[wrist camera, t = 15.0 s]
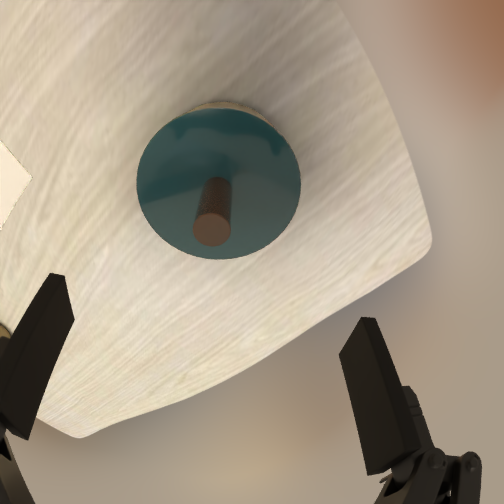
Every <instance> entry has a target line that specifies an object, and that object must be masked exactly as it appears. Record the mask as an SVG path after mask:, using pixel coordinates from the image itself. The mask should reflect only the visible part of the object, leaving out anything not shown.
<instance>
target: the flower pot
mask: <svg viewBox="0 0 504 504" xmlns="http://www.w3.org/2000/svg"><path fill="white" fill-rule="evenodd" d="M1 336H5V337H8V338H10V334H9V333H8V331H7V330H6V329H5V328H4V327H3V326H1V325H0V337H1Z"/></svg>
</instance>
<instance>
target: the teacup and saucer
mask: <svg viewBox="0 0 504 504" xmlns="http://www.w3.org/2000/svg"><path fill="white" fill-rule="evenodd" d="M31 179H32V176H31V175H30V174H29V173H28V172H27V171H26V170H25V168H24V167H23V166H22V165H21V164H20V163H19V162H18V160H17V159H16V158H15V157H14V156H13V155H12V153H11V152H10V151H9V150H8V149H7V147H6V146H5V145H4V144H3V143H2V141H1V140H0V230H1V228H2V226H3V224H4V223H5V221H6V219H7V217H8V216H9V214H10V212H11V211H12V209H13V207H14V205H15V204H16V202H17V201H18V199H19V197H20V196H21V194H22V193H23V191H24V189H25V188H26V186H27V185H28V183H29V182H30V180H31Z"/></svg>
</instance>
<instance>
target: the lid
mask: <svg viewBox="0 0 504 504" xmlns="http://www.w3.org/2000/svg"><path fill="white" fill-rule="evenodd" d="M300 191H301V178H300V171H299V166H298V163H297V160H296V157H295V155H294V153H293V151H292V149H291V147H290V146H289V144H288V143H287V141H286V140H285V139H284V137H283V136H282V135H281V134H280V133H279V132H278V131H277V130H276V129H275V128H274V127H273V126H272V125H270V124H269V123H268V122H266V121H265V120H263V119H262V118H260V117H258V116H256V115H254V114H252V113H249V112H246V111H244V110H240V109H235V108H229V107H207V108H201V109H196V110H193V111H190V112H187V113H185V114H183V115H181V116H179V117H177V118H175V119H173V120H172V121H170V122H169V123H167V124H166V125H165V126H164V127H163V128H162V129H160V130H159V131H158V132H157V133H156V134H155V136H154V137H153V138H152V139H151V140H150V142H149V144H148V145H147V147H146V148H145V150H144V152H143V155H142V157H141V159H140V163H139V166H138V171H137V194H138V200H139V203H140V206H141V209H142V211H143V214H144V216H145V218H146V219H147V221H148V223H149V224H150V226H151V227H152V228H153V229H154V230H155V232H156V233H157V234H158V235H159V236H160V237H161V238H162V239H164V240H165V241H166V242H167V243H169V244H170V245H172V246H173V247H175V248H177V249H178V250H181V251H183V252H185V253H187V254H190V255H193V256H196V257H201V258H206V259H232V258H238V257H242V256H246V255H248V254H251V253H254V252H256V251H258V250H260V249H262V248H264V247H265V246H267V245H268V244H270V243H271V242H272V241H274V240H275V239H276V238H277V237H278V236H279V235H280V234H281V233H282V232H283V231H284V230H285V228H286V227H287V226H288V224H289V223H290V221H291V219H292V217H293V216H294V214H295V211H296V208H297V206H298V202H299V198H300Z"/></svg>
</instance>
